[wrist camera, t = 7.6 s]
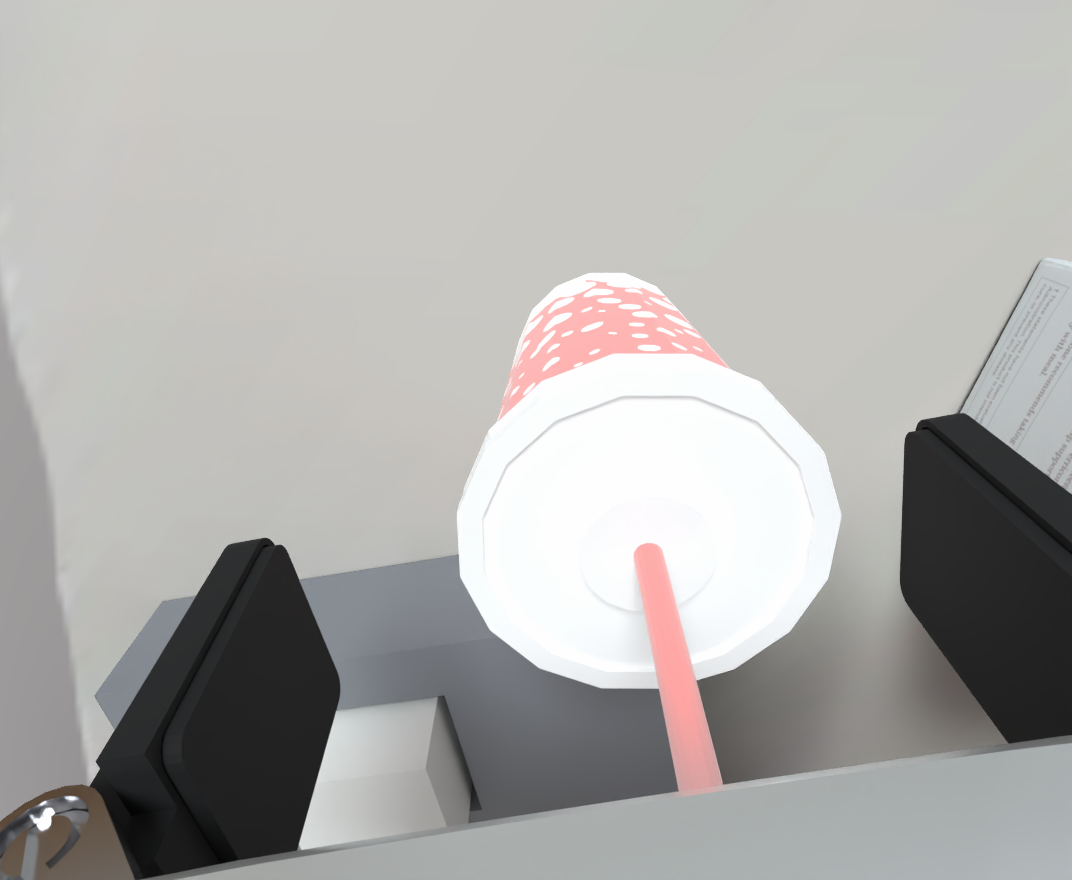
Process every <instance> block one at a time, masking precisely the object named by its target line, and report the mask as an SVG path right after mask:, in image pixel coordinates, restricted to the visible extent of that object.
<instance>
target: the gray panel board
mask: <svg viewBox="0 0 1072 880" xmlns="http://www.w3.org/2000/svg"><path fill="white" fill-rule="evenodd" d="M299 581H300V583H301V586H302V588H303V590H304V593H305V595H306V598H307V600H308V602H309V605H310V607H311V610H312V612H313V614H314V617H315V619H316V622H317V624H318V626H319V629H320V631H321V634H322V636H323V638H324V641H325V643H326V646H327V648H328V650H329V653H330V655H331V657H332V660H333V662H334V665H335V667H336V669H337V672H338V675H339V679H340V688H341V690H340V699H339V703H338V706H337V710H344V709H351V708H358V707H365V706H372V705H379V704H386V703H393V702H401V701H408V700H415V699H422V698H429V697H436V696H443V695H444V696H445V699H446V702H447V705H448V708H449V711H450V714H451V717H452V720H453V723H454V726H455V729H456V732H457V735H458V738H459V741H460V744H461V747H462V750H463V753H464V756H465V759H466V762H467V765H468V768H469V771H470V774H471V777H472V790H471V800H470V810H469V820H468V823H475V822H481V821H488V820H494V819H500V818H507V817H513V816H519V815H526V814H533V813H539V812H546V811H552V810H559V809H565V808H572V807H579V806H585V805H592V804H598V803H605V802H611V801H618V800H625V799H631V798H638V797H644V796H651V795H658V794H664V793H671V792H678V791H679V790H678V785H677V779H676V774H675V769H674V764H673V759H672V754H671V749H670V743H669V738H668V733H667V728H666V723H665V718H664V713H663V707H662V702H661V697H660V692H659V689H635V688H599V687H596V686H593V685H590V684H586V683H583V682H580V681H577V680H574V679H571V678H568V677H565V676H561V675H558V674H555V673H552V672H549V671H546V670H543V669H540V668H538V667H537V666H536V665H534V664H533V663H532V662H530V661H529V660H528V659H527V658H525V657H524V656H523V655H521V654H520V653H519V652H517V651H516V650H515V649H514V648H512V647H511V646H510V645H508V644H507V643H506V642H504V641H503V640H502V639H501V638H499V637H498V636H497V635H495V634H494V633H493V632H492V631H490V630H489V628H488V626H487V624H486V622H485V621H484V619H483V617H482V615H481V614H480V612H479V610H478V608H477V606H476V605H475V603H474V601H473V599H472V597H471V596H470V594H469V592H468V590H467V588H466V587H465V585H464V583H463V581H462V579H461V578H460V566H459V555H456V556H450V557H443V558H437V559H431V560H424V561H418V562H412V563H405V564H399V565H392V566H386V567H380V568H373V569H367V570H361V571H354V572H348V573H342V574H335V575H329V576H323V577H316V578H310V579H304V580H299ZM194 599H195V597H189V598H183V599H176V600H170V601H164V602H162V603H161V604H160V606H159V607H158V608H157V610H156V611H155V613H154V614H153V615H152V617H151V618H150V619H149V621H148V622H147V624H146V625H145V626H144V628H143V629H142V631H141V632H140V633H139V635H138V636H137V637H136V639H135V640H134V642H133V643H132V644H131V646H130V647H129V648H128V650H127V651H126V653H125V654H124V655H123V657H122V658H121V660H120V661H119V662H118V664H117V665H116V666H115V668H114V669H113V671H112V672H111V673H110V675H109V676H108V678H107V679H106V680H105V682H104V683H103V684H102V686H101V687H100V689H99V690H98V691H97V693H96V694H95V695H94V696H95V698H96V700H97V701H98V703H99V705H100V706H101V708H102V710H103V711H104V713H105V715H106V716H107V718H108V720H109V721H110V723H111V725H112V726H113V728H114V729H116V727H117V726H118V724H119V722H120V721H121V719H122V718H123V716H124V714H125V713H126V711H127V709H128V708H129V706H130V704H131V703H132V701H133V699H134V698H135V696H136V694H137V693H138V691H139V689H140V688H141V686H142V685H143V683H144V681H145V680H146V678H147V676H148V675H149V673H150V671H151V670H152V668H153V666H154V665H155V663H156V661H157V660H158V658H159V656H160V655H161V653H162V652H163V650H164V648H165V647H166V645H167V643H168V642H169V640H170V638H171V637H172V635H173V633H174V632H175V630H176V628H177V627H178V625H179V624H180V622H181V620H182V619H183V617H184V615H185V614H186V612H187V610H188V609H189V607H190V605H191V604H192V602H193V600H194ZM696 681H697V680H696ZM697 685H698V683H697ZM298 850H301V848H300V846H298V849H297V851H298Z"/></svg>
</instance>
